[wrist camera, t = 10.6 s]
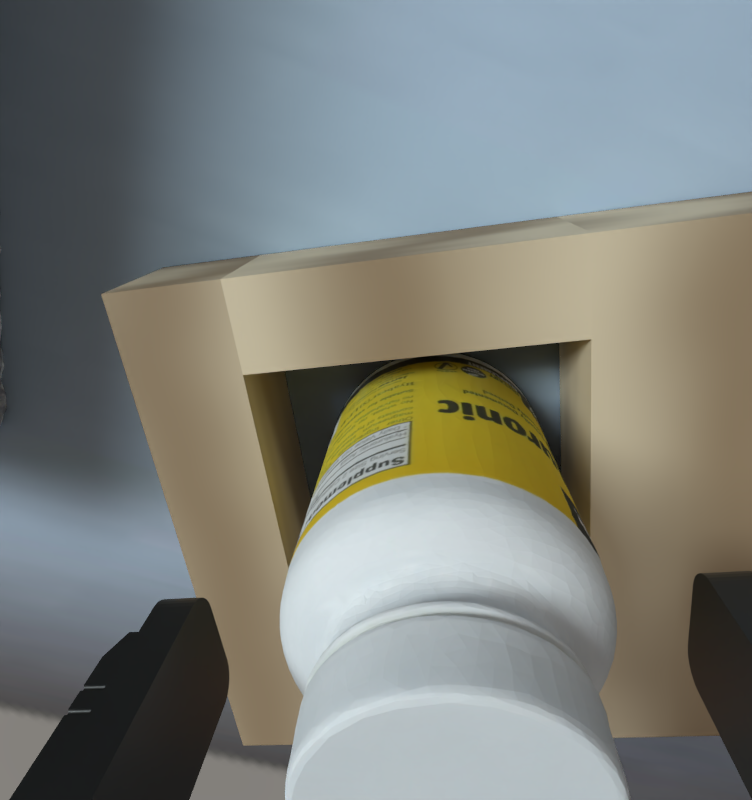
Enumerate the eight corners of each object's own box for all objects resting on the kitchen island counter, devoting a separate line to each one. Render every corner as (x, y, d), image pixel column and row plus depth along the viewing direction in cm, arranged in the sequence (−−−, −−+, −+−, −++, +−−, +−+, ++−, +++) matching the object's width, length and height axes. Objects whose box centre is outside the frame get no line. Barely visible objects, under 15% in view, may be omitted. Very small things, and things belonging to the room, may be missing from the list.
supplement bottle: (578, 455, 15) (794, 873, 6) (420, 555, 17) (416, 998, 8) (454, 300, 14) (507, 556, 5) (295, 426, 16) (124, 785, 7)
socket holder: (1438, 103, 11) (1817, 83, 8) (1178, 625, 16) (1354, 734, 13) (163, 267, 14) (92, 297, 11) (269, 660, 19) (240, 755, 16)
